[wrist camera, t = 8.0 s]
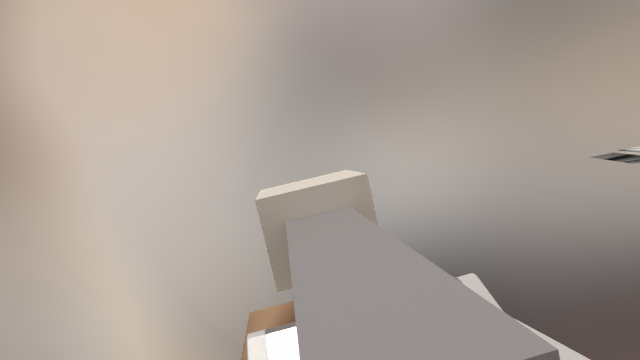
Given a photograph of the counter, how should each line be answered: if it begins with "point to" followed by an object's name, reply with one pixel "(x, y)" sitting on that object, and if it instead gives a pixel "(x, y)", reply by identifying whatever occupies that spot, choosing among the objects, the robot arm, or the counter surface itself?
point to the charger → (375, 284)
